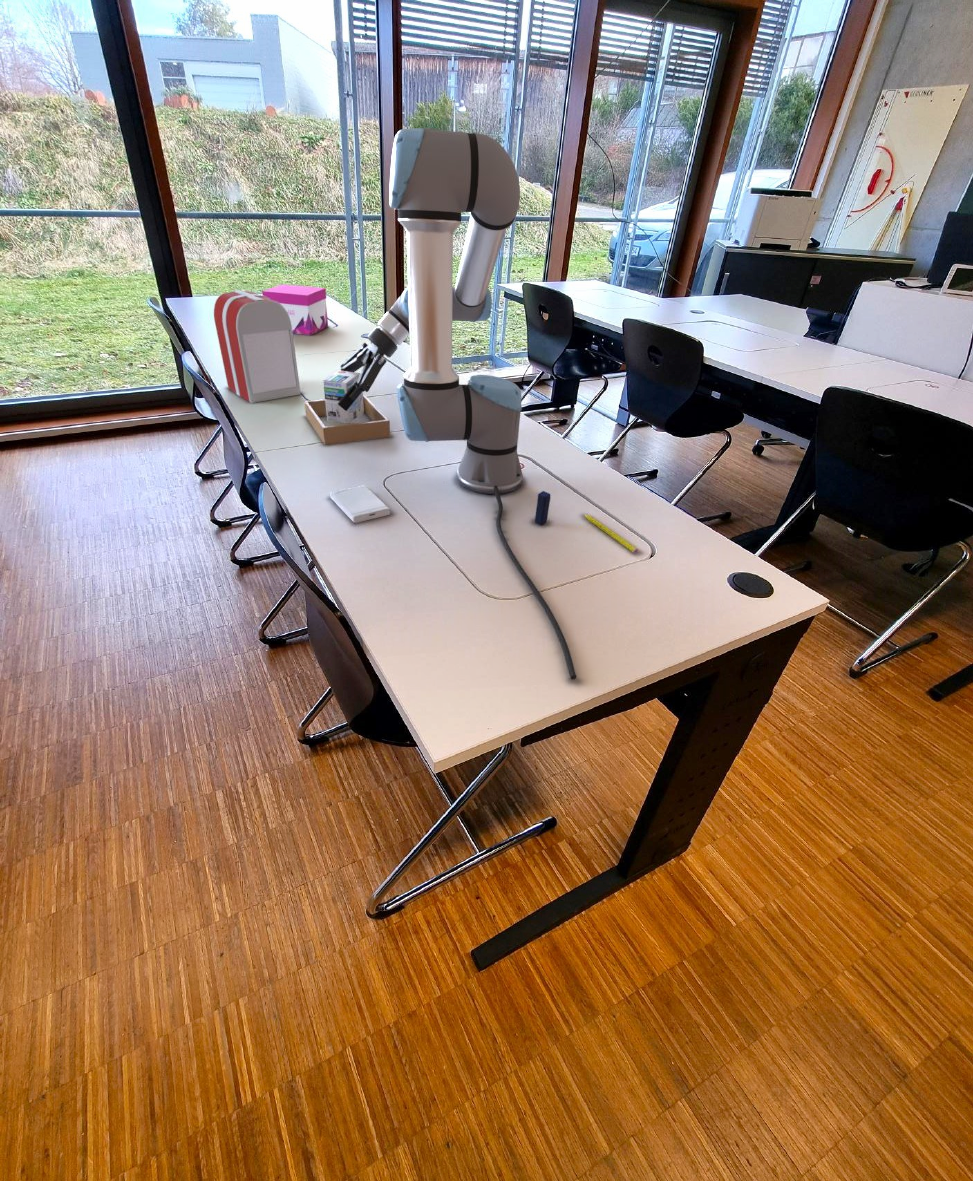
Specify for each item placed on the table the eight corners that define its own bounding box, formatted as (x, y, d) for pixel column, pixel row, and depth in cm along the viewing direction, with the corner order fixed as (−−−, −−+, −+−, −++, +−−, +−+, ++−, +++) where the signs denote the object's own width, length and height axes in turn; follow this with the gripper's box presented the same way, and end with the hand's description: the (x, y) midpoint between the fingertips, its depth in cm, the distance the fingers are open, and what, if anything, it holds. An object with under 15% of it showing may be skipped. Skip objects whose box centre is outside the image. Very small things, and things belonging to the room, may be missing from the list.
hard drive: (329, 492, 125) (353, 516, 117) (365, 484, 129) (390, 507, 121) (330, 498, 126) (353, 523, 118) (365, 491, 130) (390, 514, 122)
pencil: (637, 552, 115) (638, 548, 114) (633, 553, 115) (634, 549, 114) (585, 515, 126) (586, 511, 126) (582, 516, 126) (582, 512, 125)
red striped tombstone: (250, 403, 171) (231, 302, 155) (226, 387, 181) (206, 291, 166) (302, 394, 180) (289, 298, 165) (276, 379, 191) (262, 287, 175)
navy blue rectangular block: (539, 519, 124) (543, 489, 120) (547, 522, 123) (551, 493, 119) (533, 522, 122) (536, 493, 118) (541, 526, 121) (545, 496, 117)
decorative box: (268, 331, 242) (262, 291, 233) (288, 322, 258) (283, 284, 249) (311, 335, 240) (307, 295, 232) (329, 326, 256) (325, 288, 247)
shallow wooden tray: (390, 436, 156) (389, 420, 154) (324, 445, 149) (322, 428, 147) (366, 410, 172) (365, 395, 169) (306, 417, 165) (304, 401, 162)
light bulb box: (350, 424, 154) (346, 382, 148) (326, 421, 155) (321, 380, 148) (365, 412, 162) (362, 372, 156) (342, 409, 163) (338, 369, 157)
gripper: (414, 357, 146) (359, 423, 149) (383, 336, 163) (334, 395, 166) (392, 336, 141) (336, 405, 144) (363, 316, 158) (313, 378, 161)
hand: (335, 400), depth 155 cm, fingers closed on light bulb box, 12 cm apart
